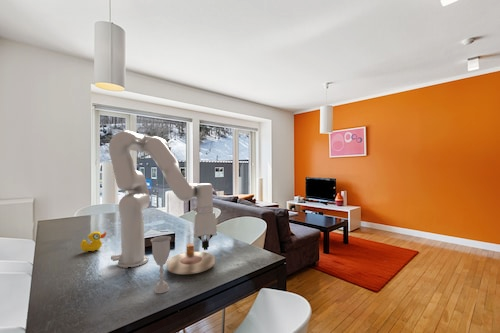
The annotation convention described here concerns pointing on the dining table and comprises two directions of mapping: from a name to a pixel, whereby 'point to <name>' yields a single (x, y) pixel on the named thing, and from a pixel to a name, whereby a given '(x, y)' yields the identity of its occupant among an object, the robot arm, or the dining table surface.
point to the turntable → (190, 262)
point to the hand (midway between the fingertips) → (205, 248)
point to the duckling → (93, 242)
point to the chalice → (161, 259)
